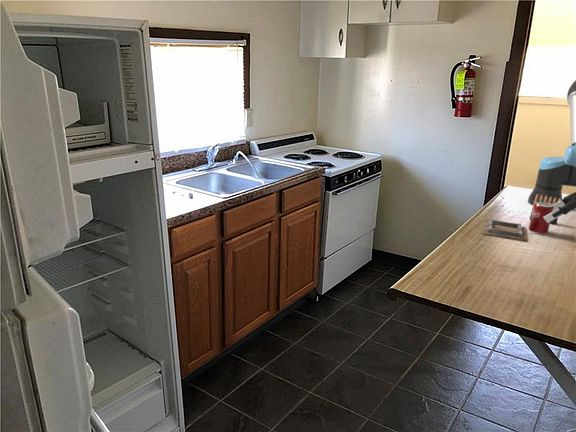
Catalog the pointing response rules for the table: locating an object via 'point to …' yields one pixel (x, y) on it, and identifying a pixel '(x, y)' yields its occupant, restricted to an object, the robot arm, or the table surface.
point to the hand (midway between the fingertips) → (546, 215)
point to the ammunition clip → (546, 202)
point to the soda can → (540, 217)
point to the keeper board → (504, 230)
